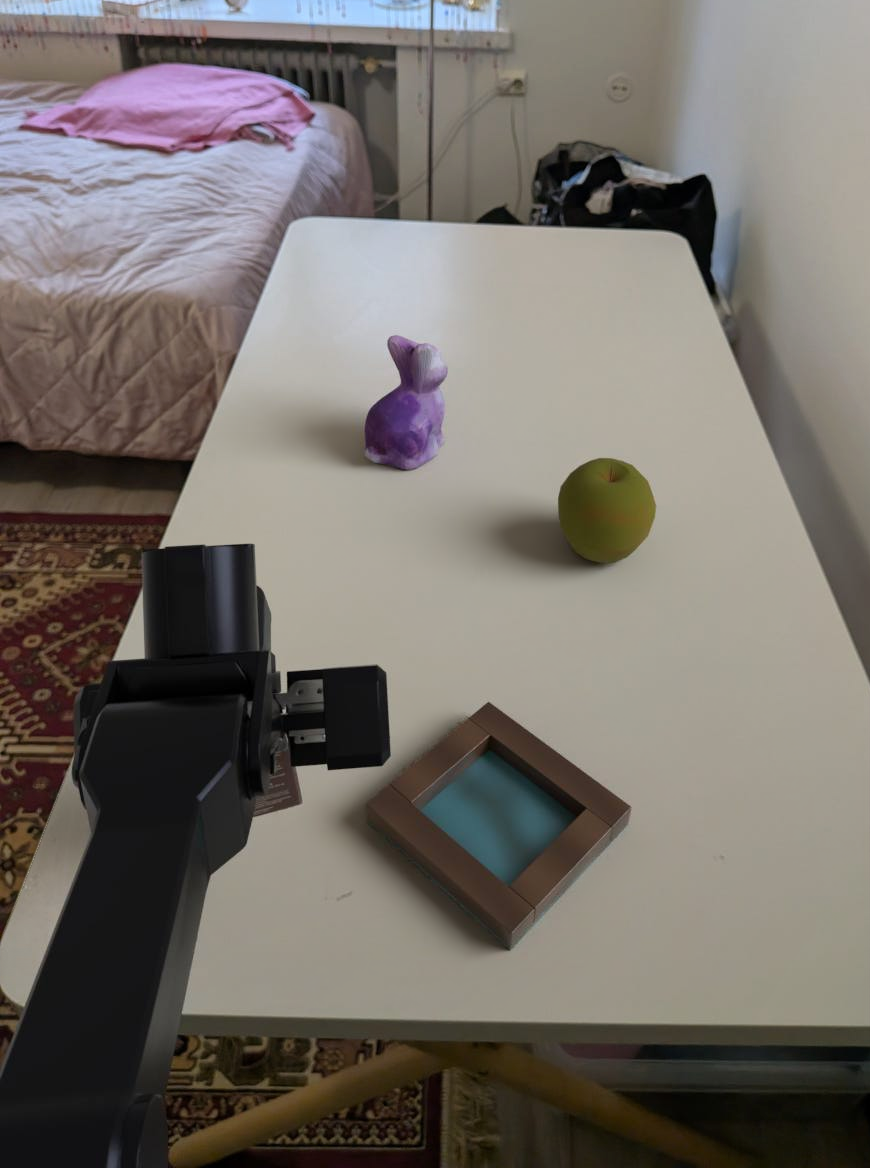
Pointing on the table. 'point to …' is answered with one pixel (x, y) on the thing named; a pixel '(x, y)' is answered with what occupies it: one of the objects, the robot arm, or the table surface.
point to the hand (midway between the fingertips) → (255, 712)
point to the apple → (606, 509)
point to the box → (280, 786)
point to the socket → (498, 821)
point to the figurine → (408, 408)
